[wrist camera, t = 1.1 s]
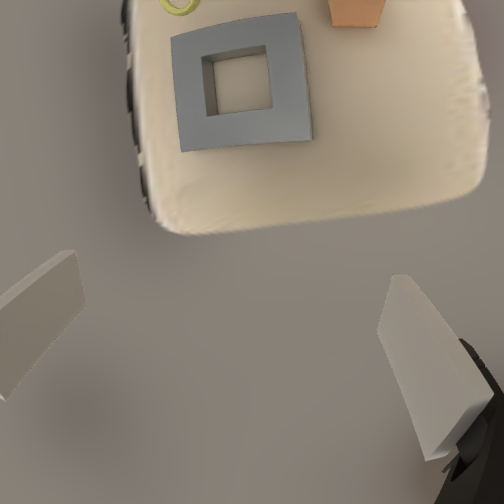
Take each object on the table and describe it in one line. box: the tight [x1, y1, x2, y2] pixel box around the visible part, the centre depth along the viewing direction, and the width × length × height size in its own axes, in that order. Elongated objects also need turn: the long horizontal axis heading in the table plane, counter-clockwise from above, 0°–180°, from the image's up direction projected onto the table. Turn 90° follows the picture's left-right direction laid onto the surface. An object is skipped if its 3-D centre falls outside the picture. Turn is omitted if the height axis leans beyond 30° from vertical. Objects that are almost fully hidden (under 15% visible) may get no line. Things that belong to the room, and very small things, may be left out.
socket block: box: [171, 12, 313, 152], centre depth 26 cm, size 13×13×3 cm
